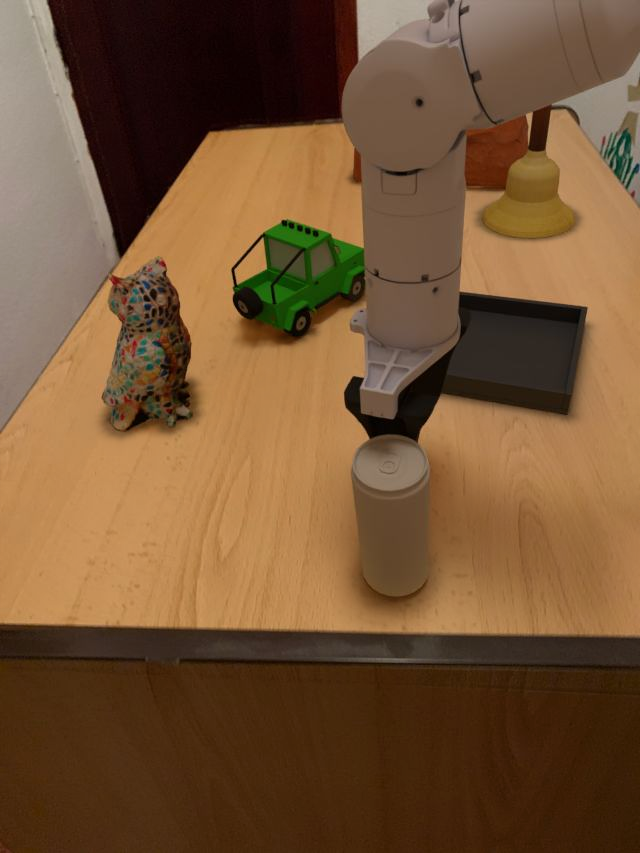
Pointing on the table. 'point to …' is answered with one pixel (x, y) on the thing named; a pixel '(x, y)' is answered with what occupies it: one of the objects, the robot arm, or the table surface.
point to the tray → (517, 352)
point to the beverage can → (392, 513)
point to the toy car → (299, 276)
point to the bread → (486, 153)
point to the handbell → (531, 191)
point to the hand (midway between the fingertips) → (410, 431)
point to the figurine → (148, 350)
